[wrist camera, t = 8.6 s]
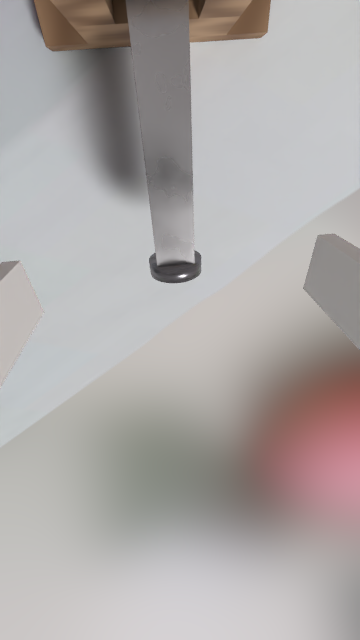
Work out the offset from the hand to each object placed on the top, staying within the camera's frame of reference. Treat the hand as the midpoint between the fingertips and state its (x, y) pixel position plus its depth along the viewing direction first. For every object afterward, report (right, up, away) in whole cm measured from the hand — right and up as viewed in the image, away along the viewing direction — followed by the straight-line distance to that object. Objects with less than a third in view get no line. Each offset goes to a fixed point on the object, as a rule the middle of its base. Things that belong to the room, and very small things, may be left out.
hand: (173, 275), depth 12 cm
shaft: (-1, +12, +6) cm, 13 cm away
